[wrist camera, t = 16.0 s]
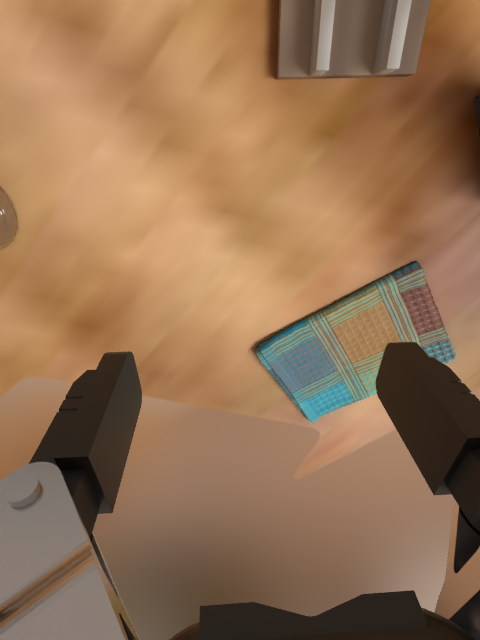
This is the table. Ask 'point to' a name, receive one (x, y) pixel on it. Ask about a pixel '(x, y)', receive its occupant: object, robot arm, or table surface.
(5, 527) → the robot arm
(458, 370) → the table surface
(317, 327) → the dish towel
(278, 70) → the board
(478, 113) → the ammunition clip
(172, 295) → the table surface
